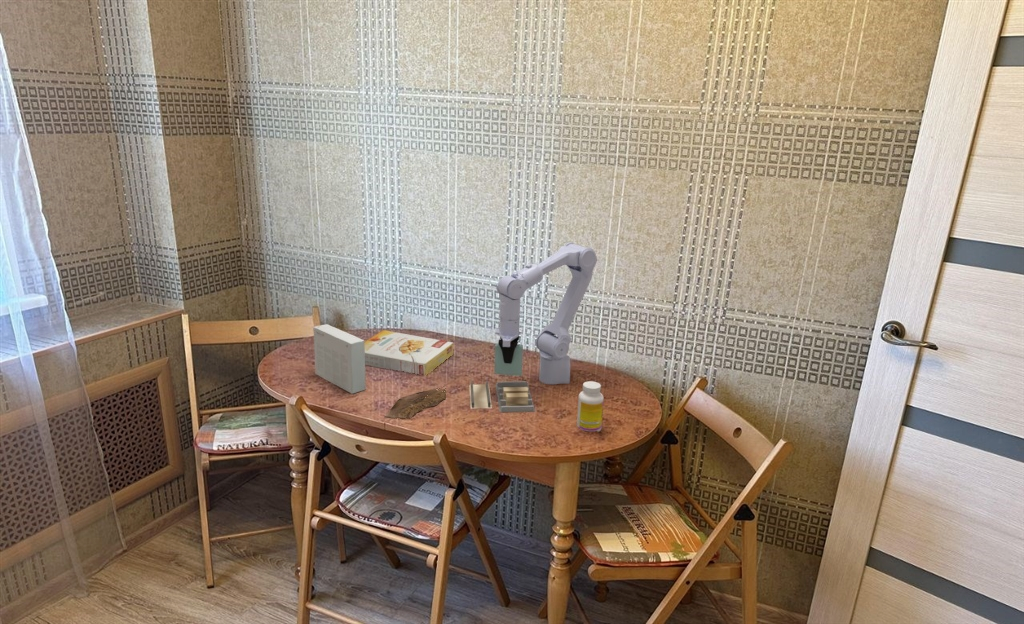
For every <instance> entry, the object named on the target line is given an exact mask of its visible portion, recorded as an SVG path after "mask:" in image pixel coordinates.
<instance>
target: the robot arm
mask: <svg viewBox="0 0 1024 624" xmlns="http://www.w3.org/2000/svg"><path fill="white" fill-rule="evenodd" d="M597 262H598V257H597V255H596V251H595V250H594V249H593V248H592V247H591V248H590V247H586V246H582V245H579V244H576V243H574V242H567V243H566V244H565V245H562V246H560V247H559V250H558V251H557V252H554V253H553V254H552V255H550V256H549V257H546V258H545V259H544V260H543V261H541V262H540V263H538V264H534V263H527V264H525V267H523V268H521V269H520V270H518V271H514V272H512V274H511V275H504V276H502V277H501V278H500V279H498V280H499V281H498V283H497V285H495V289H496V291H497V293H498V294H499V329H497V330H495V335H498V336H499V337H500V338H499V339H498V341H497V343H498V344H499V346H500V348H501V350H502V354H503V360H504V363H509V364H511V363H512V359H513V354H514V350H515V348H516V346H517V345H519V340H520V333H521V332H520V320H521V319H520V316H521V313H520V312H521V299H522V297H523V296H524V294H525V292H526V291H527V290H529V289H530V288H532V287H533V286H535V285H536V284H538V283H541V282H542V280H543V276H544V275H547V274H548V273H549V274H550V272H553V271H555V270H557V269H559V268H561V267H563V266H566V267H567V268H568V269H569V271H570V274H571V276H572V277H571V280H570V282H569V285H568V286H567V289H566V291H565V293H564V295H563V297H562V300H561V302H560V304H559V306H558V309H557V311H556V313H555V314H554V317H553V320H552V322H551V323H549V324H546V325H545V326H544V327H543V329H542V331H541V332H540V333H539V334H538V335H537V337H536V340H535V346H536V348H537V350H538V351H539V352H538V354H539V370H538V372H539V373H538V374H539V375H538V380H539V382H541V383H543V384H545V385H557V384H570V380H571V358H570V355H568V353H569V351H570V350H569V349H570V343H571V341H572V337H571V334H570V332H569V330H570V327H571V325H572V323H573V320H574V318H575V316H576V314H577V312H578V310H579V307H580V305H581V303H582V300H583V298H584V296H585V294H586V291H587V290H588V287H589V285H590V283H591V280H592V277H593V273H594V272H593V271H594V268H595V267H596V264H597Z"/></svg>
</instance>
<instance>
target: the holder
mask: <svg viewBox="0 0 1024 624" xmlns="http://www.w3.org/2000/svg"><path fill="white" fill-rule="evenodd" d="M468 388H469V406H470V409H471V410H475V409H476V410H477V409H483V410H484V409H493V405H492V399H491V392H490V391H491V390H490V384H489V381H488V380H485V384H483V383H482V384H481V383H480V384H474V382H473V380H470V384H469V386H468Z"/></svg>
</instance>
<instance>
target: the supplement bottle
mask: <svg viewBox="0 0 1024 624" xmlns="http://www.w3.org/2000/svg"><path fill="white" fill-rule="evenodd" d="M601 388H602V385H601V383H599V382H596V381H589V380H588V381H585V382H583V384H582V391H580V392H579V394H578V401H577V402H578V403H577V416H576V418H577V419H576V426H577V428H578V429H579V430H582V431H586V432H596V431H597V433H599V432H601V430H602V425H603V413H604V412H603V411H604V399H605V398H604V395H603V394H602V393H601V390H602V389H601Z"/></svg>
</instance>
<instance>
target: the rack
mask: <svg viewBox="0 0 1024 624" xmlns="http://www.w3.org/2000/svg"><path fill="white" fill-rule="evenodd" d="M503 387H528V406H506V400H503ZM495 391H496V396H497V404H498V412H499V413H527V412H528V413H531V412H532V413H536V409H535V405H534V402H533V399H532V394H531V390H530V387H529V383H528V381H527V380H526V381H525V380H522V381H521V380H518V381H511V380H510V381H497V383H495Z"/></svg>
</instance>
